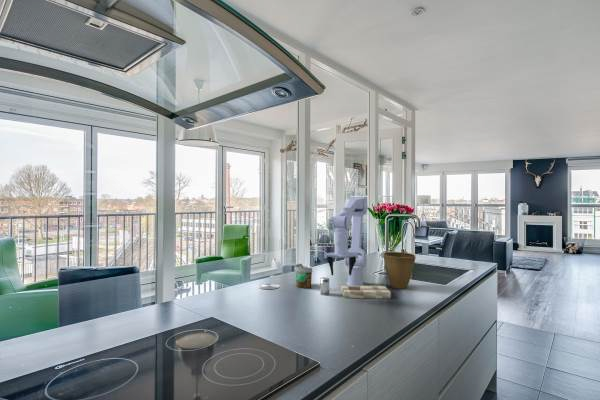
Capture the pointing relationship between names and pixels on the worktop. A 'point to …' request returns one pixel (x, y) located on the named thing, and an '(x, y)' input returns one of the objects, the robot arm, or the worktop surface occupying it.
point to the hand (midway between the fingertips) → (341, 274)
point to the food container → (303, 276)
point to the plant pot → (399, 268)
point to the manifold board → (365, 291)
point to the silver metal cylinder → (324, 286)
